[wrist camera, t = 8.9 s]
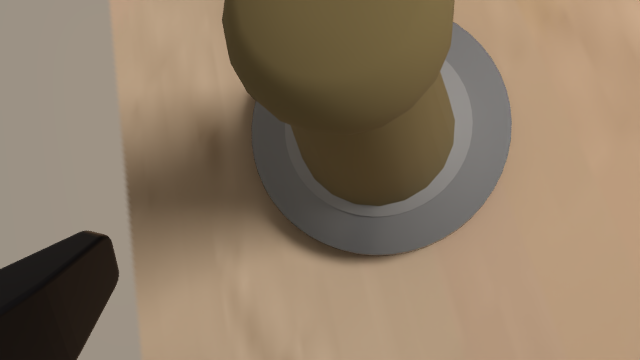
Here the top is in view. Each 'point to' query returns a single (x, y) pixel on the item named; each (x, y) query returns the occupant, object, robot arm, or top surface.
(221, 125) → the top surface
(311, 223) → the coaster
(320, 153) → the cork
